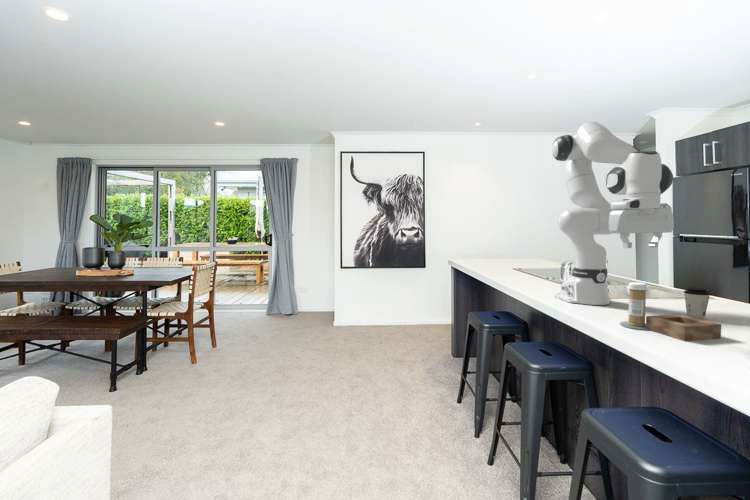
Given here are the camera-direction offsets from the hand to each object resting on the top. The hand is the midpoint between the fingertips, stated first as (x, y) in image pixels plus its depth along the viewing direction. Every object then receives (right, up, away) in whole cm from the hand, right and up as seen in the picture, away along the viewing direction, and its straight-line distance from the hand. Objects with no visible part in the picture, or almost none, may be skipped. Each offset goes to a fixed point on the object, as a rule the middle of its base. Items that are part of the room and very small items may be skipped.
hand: (640, 247), depth 114 cm
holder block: (+7, -25, -6) cm, 27 cm away
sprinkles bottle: (0, -25, +2) cm, 25 cm away
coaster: (0, -25, +2) cm, 25 cm away
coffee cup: (+27, -24, +11) cm, 38 cm away
